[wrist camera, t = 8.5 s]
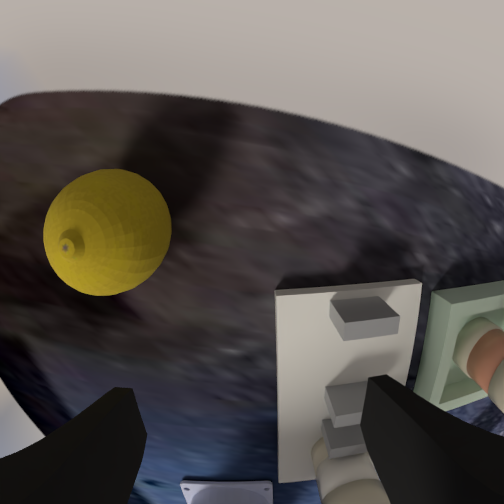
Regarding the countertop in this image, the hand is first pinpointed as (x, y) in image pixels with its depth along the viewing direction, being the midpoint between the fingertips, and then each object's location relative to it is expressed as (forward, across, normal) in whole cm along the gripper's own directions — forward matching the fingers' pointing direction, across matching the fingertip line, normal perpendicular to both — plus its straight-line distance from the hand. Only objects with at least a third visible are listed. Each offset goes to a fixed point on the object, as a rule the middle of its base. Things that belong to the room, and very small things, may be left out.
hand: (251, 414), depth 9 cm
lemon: (+10, +6, -5) cm, 13 cm away
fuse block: (+10, -6, +8) cm, 14 cm away
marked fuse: (+9, -16, +5) cm, 20 cm away
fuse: (+9, -6, +12) cm, 16 cm away
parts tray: (+10, -16, +5) cm, 20 cm away
